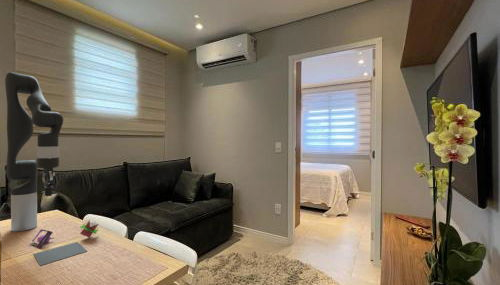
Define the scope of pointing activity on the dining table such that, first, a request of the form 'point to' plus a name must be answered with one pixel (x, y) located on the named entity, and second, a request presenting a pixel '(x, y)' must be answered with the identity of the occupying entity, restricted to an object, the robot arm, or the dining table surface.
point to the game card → (42, 239)
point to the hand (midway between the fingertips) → (48, 195)
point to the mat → (59, 253)
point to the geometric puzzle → (89, 228)
